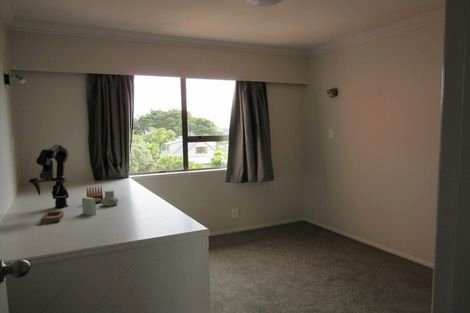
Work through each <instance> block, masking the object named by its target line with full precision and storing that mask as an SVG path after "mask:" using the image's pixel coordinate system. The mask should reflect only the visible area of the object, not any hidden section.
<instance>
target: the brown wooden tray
mask: <svg viewBox="0 0 470 313" xmlns="http://www.w3.org/2000/svg"><path fill="white" fill-rule="evenodd" d="M63 217H64V211H63V210H57V211H50V212H49V211H48V212H47V211H46V212H45V213H44V215H43V216H42V217H41V218H40V225H45V224H47V225H48V224H56V223H58V224H59V223H60V222H61V221H62V219H63Z"/></svg>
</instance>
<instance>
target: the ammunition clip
mask: <svg viewBox="0 0 470 313" xmlns="http://www.w3.org/2000/svg"><path fill="white" fill-rule="evenodd" d="M86 197H90V198H95V203H96V204H102V203H101V200H102V199H103V198H104V194H103V187H102V186H100V187H99V186H95V187H94V186H92V187H91V186H89V187H88V186H87V187H86Z"/></svg>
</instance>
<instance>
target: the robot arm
mask: <svg viewBox="0 0 470 313" xmlns="http://www.w3.org/2000/svg"><path fill="white" fill-rule="evenodd" d="M68 157H69V151H68V150H67V148H65V147H63V145H61V144H54V145H52V146H51V147H49V148H45V149H41V151H40V153H39V156H38V157H37V158H36V161H35V162H36V163H37V165H39V166H40V167H42V169H41V172H39V179H38V177H37V178H36V177H35V178H34V177H33V178H30V179H29V180H28V184H29V185H32V186H34V187H35V189H36V191H37V194H38V196H41V185H40V183H50V182H55V183H54V185H53V186H52V190H51V194H52V195H51V196H52V199H53V200H54V202H55V204H54V205H55V206H54V207H53V208H54V209H55V208H57V209H63V208H66V207H67V208H68V207H69V205H68V203H67V199H68V198H70V197H69V192H68V190H67V187H66V185H65V183H66V182H67V179H66V177H65V163H66V162H67V161H68ZM52 159H54V160H55V161H56V176H55V177H54V161H53V160H52Z"/></svg>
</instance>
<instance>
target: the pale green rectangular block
mask: <svg viewBox="0 0 470 313" xmlns="http://www.w3.org/2000/svg"><path fill="white" fill-rule="evenodd" d="M81 202H82V203H81V204H82V214H83V215H86V216H87V215H88V216H96V215H97V209H96V208H97V207H96V204H95V198H90V197H87V196H83V197H81Z"/></svg>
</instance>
